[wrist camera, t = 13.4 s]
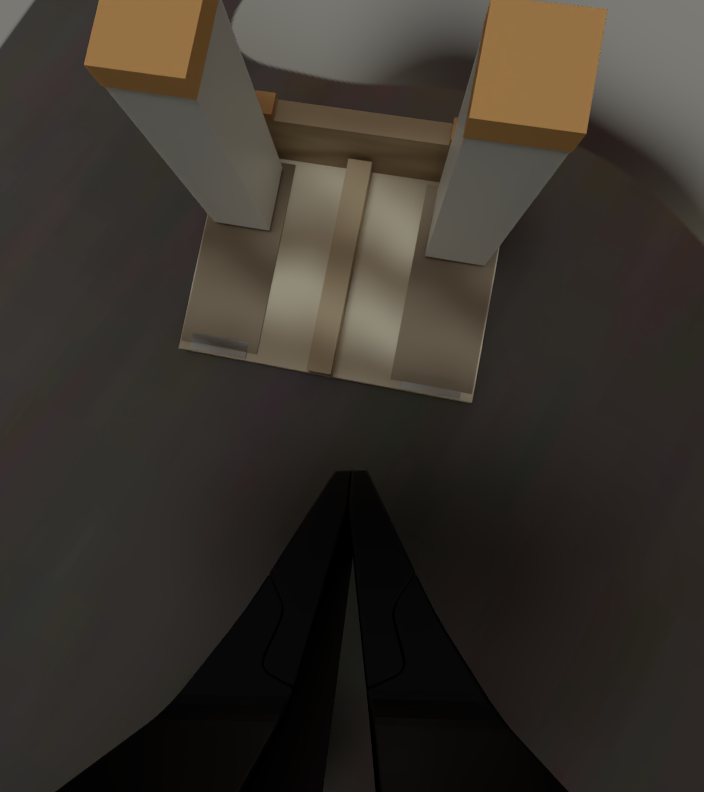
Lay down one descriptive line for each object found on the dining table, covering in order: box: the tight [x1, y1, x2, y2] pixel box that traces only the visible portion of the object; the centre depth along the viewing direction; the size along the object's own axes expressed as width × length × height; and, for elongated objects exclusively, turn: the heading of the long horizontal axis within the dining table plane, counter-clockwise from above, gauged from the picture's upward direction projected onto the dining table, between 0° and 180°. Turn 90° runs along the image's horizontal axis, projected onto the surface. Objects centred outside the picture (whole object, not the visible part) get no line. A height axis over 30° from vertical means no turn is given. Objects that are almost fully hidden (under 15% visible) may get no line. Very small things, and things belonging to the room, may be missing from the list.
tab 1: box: [84, 0, 282, 231], centre depth 17 cm, size 4×4×10 cm
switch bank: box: [179, 90, 500, 403], centre depth 21 cm, size 14×18×4 cm
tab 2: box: [425, 0, 607, 266], centre depth 16 cm, size 4×4×10 cm
